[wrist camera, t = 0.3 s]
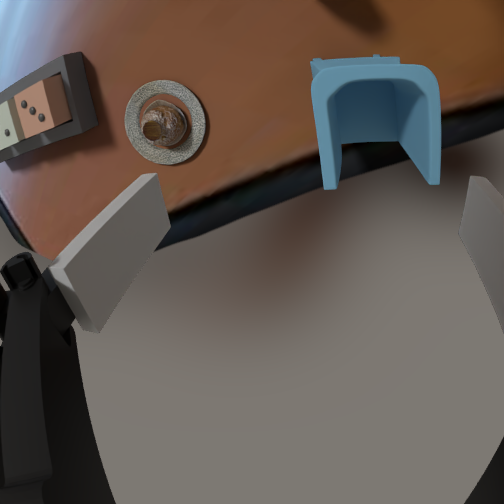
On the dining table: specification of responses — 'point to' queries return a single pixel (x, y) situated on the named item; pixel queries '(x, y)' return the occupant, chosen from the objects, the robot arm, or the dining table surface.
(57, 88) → the key
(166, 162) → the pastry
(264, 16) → the dining table surface
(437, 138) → the vase
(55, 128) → the keypad
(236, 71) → the dining table surface
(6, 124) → the key
